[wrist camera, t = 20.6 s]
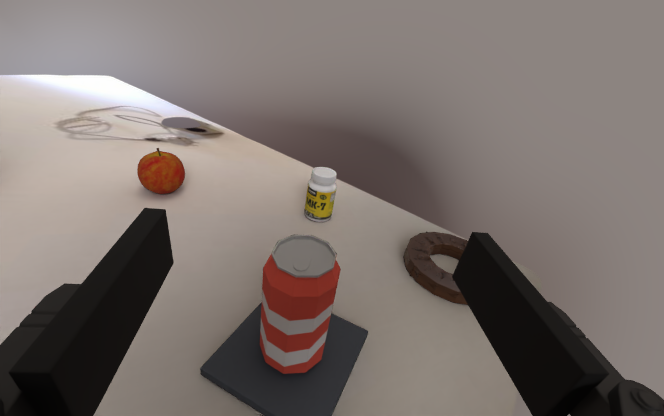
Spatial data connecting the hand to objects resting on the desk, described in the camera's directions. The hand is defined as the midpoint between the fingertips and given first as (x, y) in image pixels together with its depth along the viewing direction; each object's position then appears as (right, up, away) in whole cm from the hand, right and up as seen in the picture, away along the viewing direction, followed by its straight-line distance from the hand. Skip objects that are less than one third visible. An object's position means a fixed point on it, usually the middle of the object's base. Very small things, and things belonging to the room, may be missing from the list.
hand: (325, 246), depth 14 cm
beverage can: (-4, -12, +17) cm, 22 cm away
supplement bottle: (-2, 0, +41) cm, 41 cm away
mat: (-4, -13, +18) cm, 22 cm away
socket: (+18, -8, +33) cm, 39 cm away
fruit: (-29, +4, +40) cm, 50 cm away
